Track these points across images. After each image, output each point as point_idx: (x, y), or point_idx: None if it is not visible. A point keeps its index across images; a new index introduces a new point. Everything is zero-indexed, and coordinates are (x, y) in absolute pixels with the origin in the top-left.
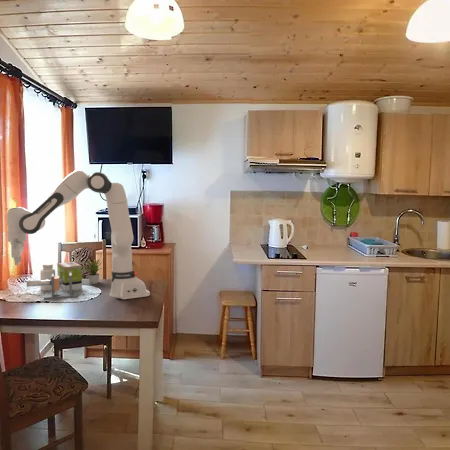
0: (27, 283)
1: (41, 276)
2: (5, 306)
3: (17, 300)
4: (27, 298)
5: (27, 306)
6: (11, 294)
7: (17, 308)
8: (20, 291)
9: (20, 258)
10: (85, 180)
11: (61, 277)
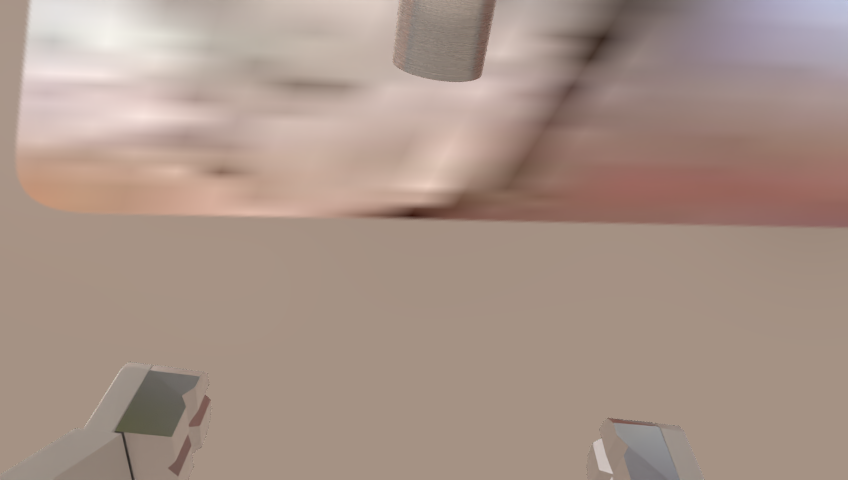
0: (483, 63)
1: None
2: (644, 216)
3: (474, 115)
4: None
5: (794, 33)
6: (186, 158)
7: (795, 128)
8: (57, 67)
9: (120, 444)
10: None
11: None
